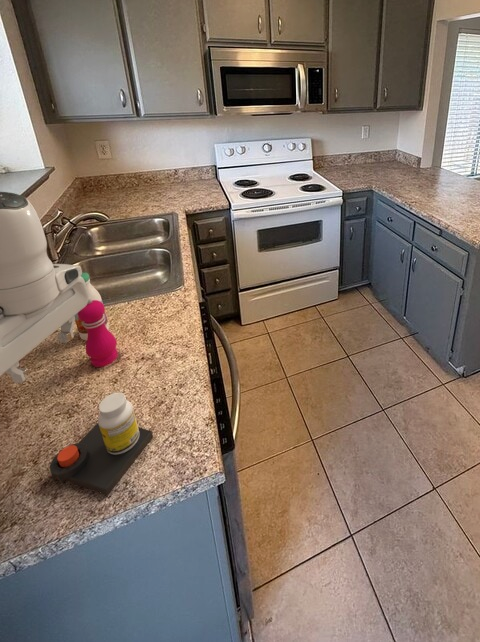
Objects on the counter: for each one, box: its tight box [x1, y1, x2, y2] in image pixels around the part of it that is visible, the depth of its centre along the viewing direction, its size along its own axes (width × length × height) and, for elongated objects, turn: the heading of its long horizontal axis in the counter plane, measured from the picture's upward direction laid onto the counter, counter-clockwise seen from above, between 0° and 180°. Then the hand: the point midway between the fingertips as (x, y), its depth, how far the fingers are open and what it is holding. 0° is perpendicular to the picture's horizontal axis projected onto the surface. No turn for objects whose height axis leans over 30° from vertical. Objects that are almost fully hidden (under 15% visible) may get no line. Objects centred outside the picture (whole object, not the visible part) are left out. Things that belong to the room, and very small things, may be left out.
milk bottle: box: [74, 272, 110, 342], centre depth 106 cm, size 8×8×20 cm
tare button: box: [57, 444, 79, 467], centre depth 69 cm, size 3×3×2 cm
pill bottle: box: [97, 392, 140, 455], centre depth 72 cm, size 6×6×11 cm
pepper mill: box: [78, 297, 119, 368], centre depth 96 cm, size 7×7×20 cm
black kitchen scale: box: [49, 422, 154, 497], centre depth 72 cm, size 14×13×4 cm
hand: (46, 358), depth 62 cm, fingers open, 8 cm apart
